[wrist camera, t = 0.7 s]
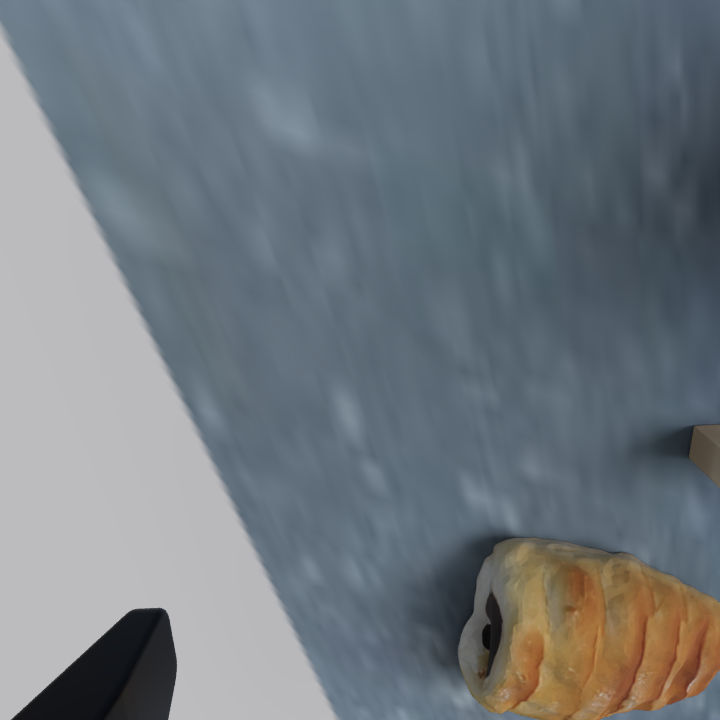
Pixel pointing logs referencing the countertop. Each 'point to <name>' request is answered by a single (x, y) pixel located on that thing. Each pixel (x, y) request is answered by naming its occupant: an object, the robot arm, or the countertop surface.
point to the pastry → (584, 633)
